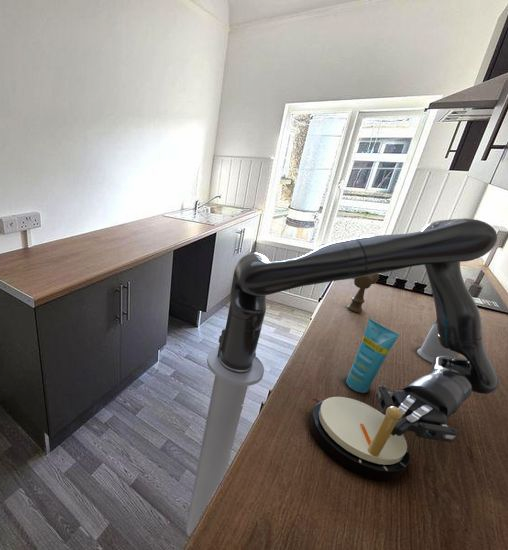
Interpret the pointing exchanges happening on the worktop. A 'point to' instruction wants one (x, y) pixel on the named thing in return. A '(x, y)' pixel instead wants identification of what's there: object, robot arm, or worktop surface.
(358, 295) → the kendama
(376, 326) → the tube
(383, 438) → the wheel
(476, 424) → the worktop surface
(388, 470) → the dial base
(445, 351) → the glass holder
